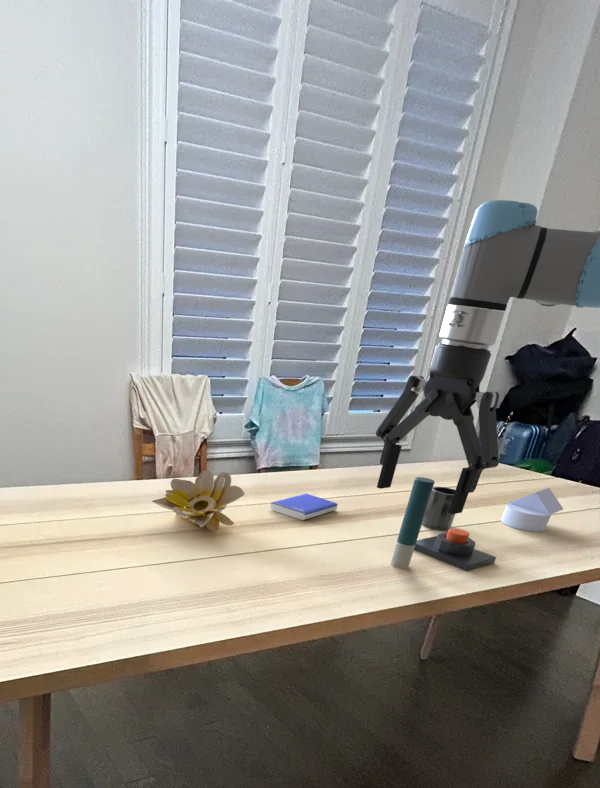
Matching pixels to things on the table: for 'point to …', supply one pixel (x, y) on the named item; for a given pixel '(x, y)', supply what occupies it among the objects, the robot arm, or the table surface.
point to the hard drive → (303, 506)
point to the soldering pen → (412, 522)
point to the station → (454, 552)
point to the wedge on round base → (531, 511)
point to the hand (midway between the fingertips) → (417, 499)
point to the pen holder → (439, 509)
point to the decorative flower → (202, 499)
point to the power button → (457, 536)
